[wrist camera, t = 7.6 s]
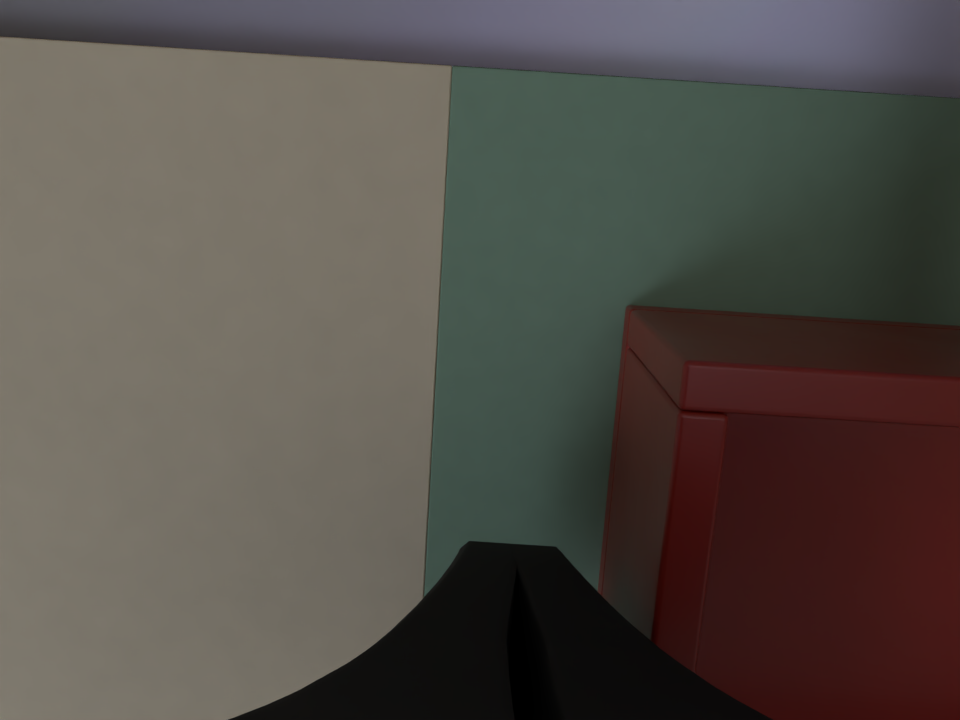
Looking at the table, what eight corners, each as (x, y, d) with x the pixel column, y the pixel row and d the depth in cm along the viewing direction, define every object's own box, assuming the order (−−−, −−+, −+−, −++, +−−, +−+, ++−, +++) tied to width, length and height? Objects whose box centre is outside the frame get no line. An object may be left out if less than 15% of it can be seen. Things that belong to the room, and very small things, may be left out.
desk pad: (1123, 994, 14) (1132, 1006, 14) (-310, 899, 14) (-321, 909, 14) (1368, 126, 11) (1383, 125, 11) (-458, 8, 11) (-475, 5, 11)
